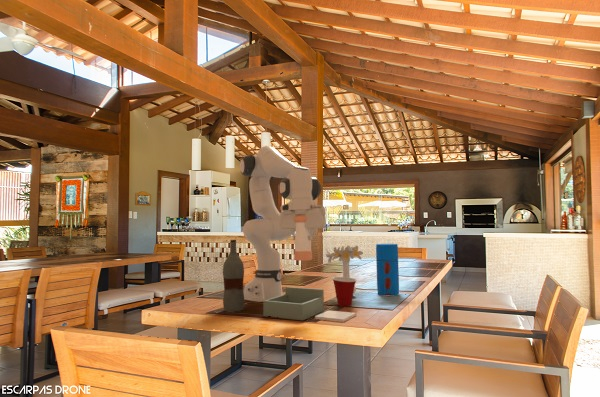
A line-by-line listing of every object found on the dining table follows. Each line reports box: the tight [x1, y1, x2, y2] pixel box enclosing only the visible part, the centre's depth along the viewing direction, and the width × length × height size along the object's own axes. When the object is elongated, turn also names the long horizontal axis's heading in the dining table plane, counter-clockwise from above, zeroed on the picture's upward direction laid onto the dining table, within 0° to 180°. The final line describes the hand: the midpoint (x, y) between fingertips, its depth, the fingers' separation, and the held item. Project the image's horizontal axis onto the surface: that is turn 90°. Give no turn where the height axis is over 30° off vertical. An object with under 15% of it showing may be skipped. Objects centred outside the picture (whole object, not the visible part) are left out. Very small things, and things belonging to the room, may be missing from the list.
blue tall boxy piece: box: [375, 243, 400, 297], centre depth 218 cm, size 11×11×25 cm
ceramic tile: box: [314, 309, 357, 323], centre depth 167 cm, size 12×12×1 cm
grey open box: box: [262, 286, 325, 321], centre depth 175 cm, size 18×18×9 cm
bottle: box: [222, 239, 246, 313], centre depth 184 cm, size 9×9×30 cm
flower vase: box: [325, 245, 364, 295], centre depth 213 cm, size 13×18×25 cm
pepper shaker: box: [293, 215, 313, 262], centre depth 174 cm, size 7×7×19 cm
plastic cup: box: [332, 276, 358, 308], centre depth 190 cm, size 11×11×12 cm
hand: (302, 240), depth 174 cm, fingers closed on pepper shaker, 5 cm apart
